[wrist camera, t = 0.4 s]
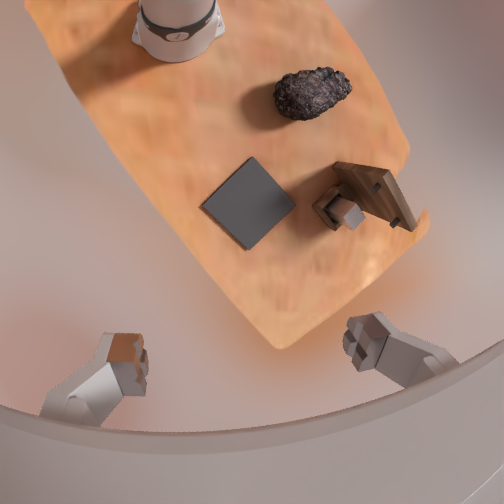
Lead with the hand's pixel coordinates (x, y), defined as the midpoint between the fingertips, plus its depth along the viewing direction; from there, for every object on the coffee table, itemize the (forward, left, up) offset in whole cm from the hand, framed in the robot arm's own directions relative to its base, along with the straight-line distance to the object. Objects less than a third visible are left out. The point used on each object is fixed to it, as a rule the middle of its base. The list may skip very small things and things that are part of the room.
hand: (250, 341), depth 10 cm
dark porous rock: (-19, +24, -48) cm, 57 cm away
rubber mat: (+5, +11, -47) cm, 49 cm away
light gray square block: (+7, +30, -48) cm, 57 cm away
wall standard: (+6, +32, -47) cm, 57 cm away
